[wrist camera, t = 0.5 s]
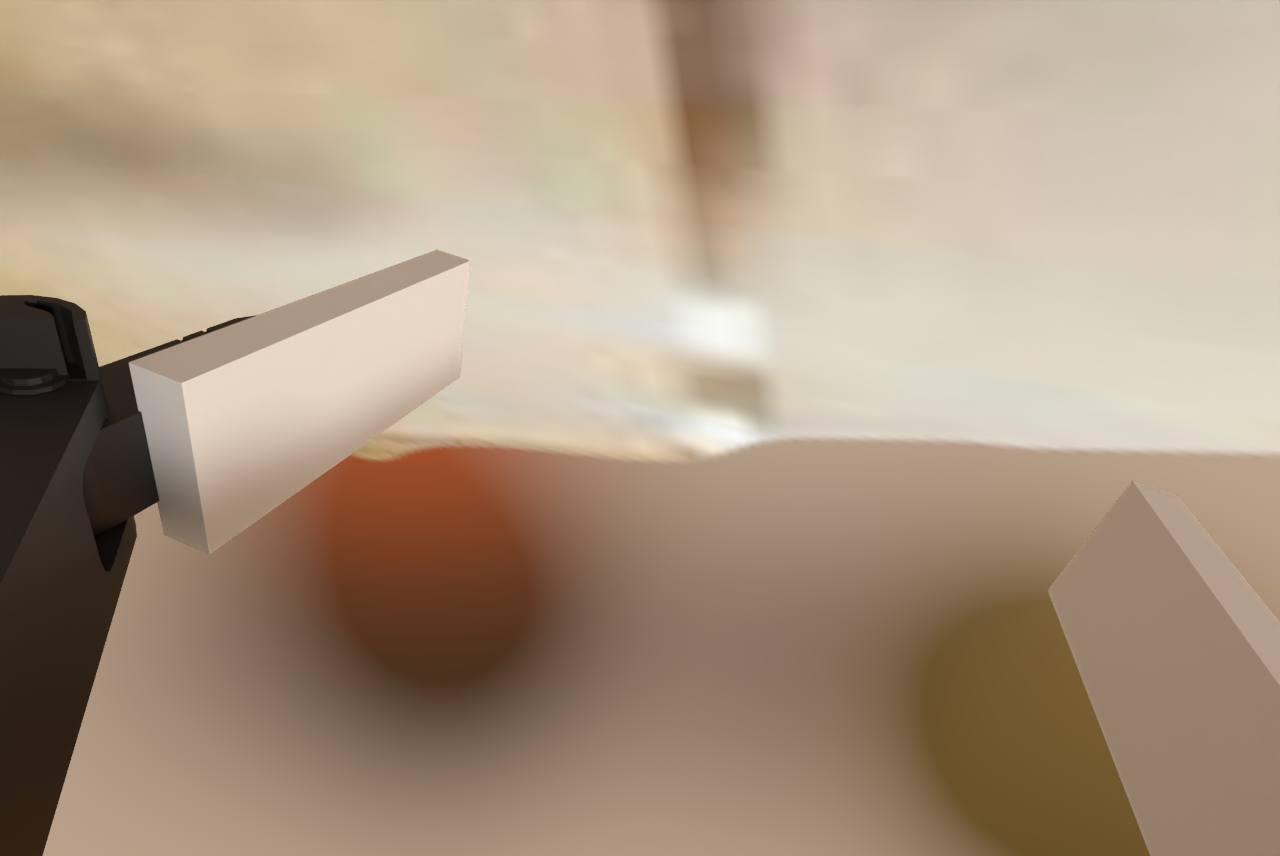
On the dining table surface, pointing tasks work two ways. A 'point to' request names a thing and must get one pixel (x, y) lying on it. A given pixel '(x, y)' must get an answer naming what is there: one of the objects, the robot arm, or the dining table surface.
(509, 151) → the dining table surface
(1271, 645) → the robot arm
